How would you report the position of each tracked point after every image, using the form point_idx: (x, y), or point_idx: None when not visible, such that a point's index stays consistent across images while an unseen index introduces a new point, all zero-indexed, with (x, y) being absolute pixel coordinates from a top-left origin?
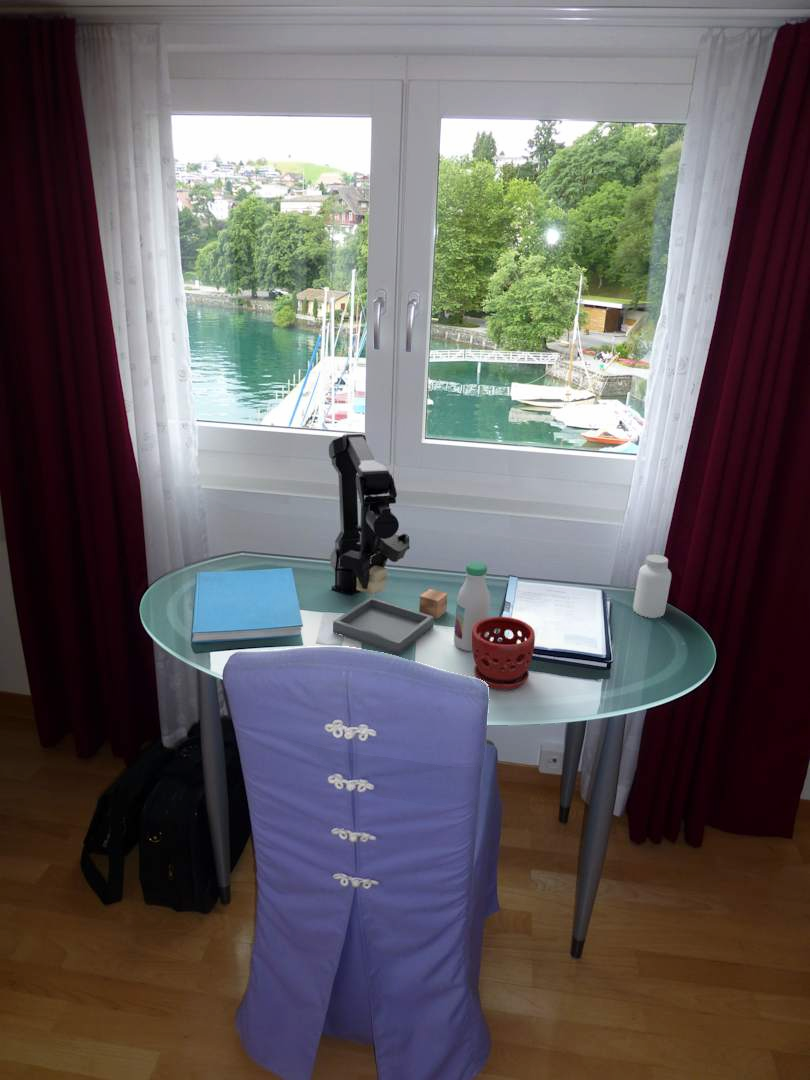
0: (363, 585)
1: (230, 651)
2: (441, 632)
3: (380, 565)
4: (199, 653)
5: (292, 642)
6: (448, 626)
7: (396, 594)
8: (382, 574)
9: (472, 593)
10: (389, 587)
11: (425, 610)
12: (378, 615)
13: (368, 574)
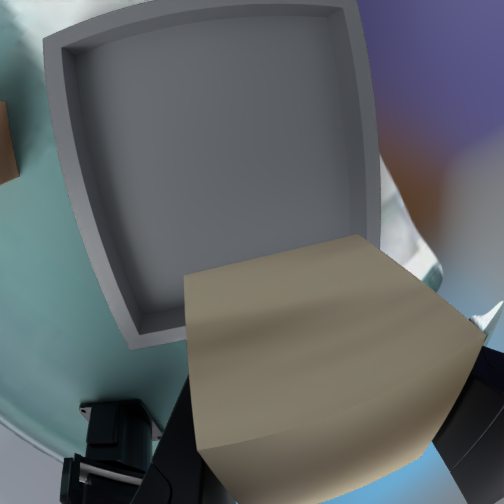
0: None
1: (478, 318)
2: (74, 8)
3: (212, 499)
4: (487, 333)
5: (433, 288)
6: (23, 33)
7: (15, 328)
8: (305, 370)
9: None
10: (18, 365)
11: (2, 151)
12: (169, 248)
13: (492, 370)
